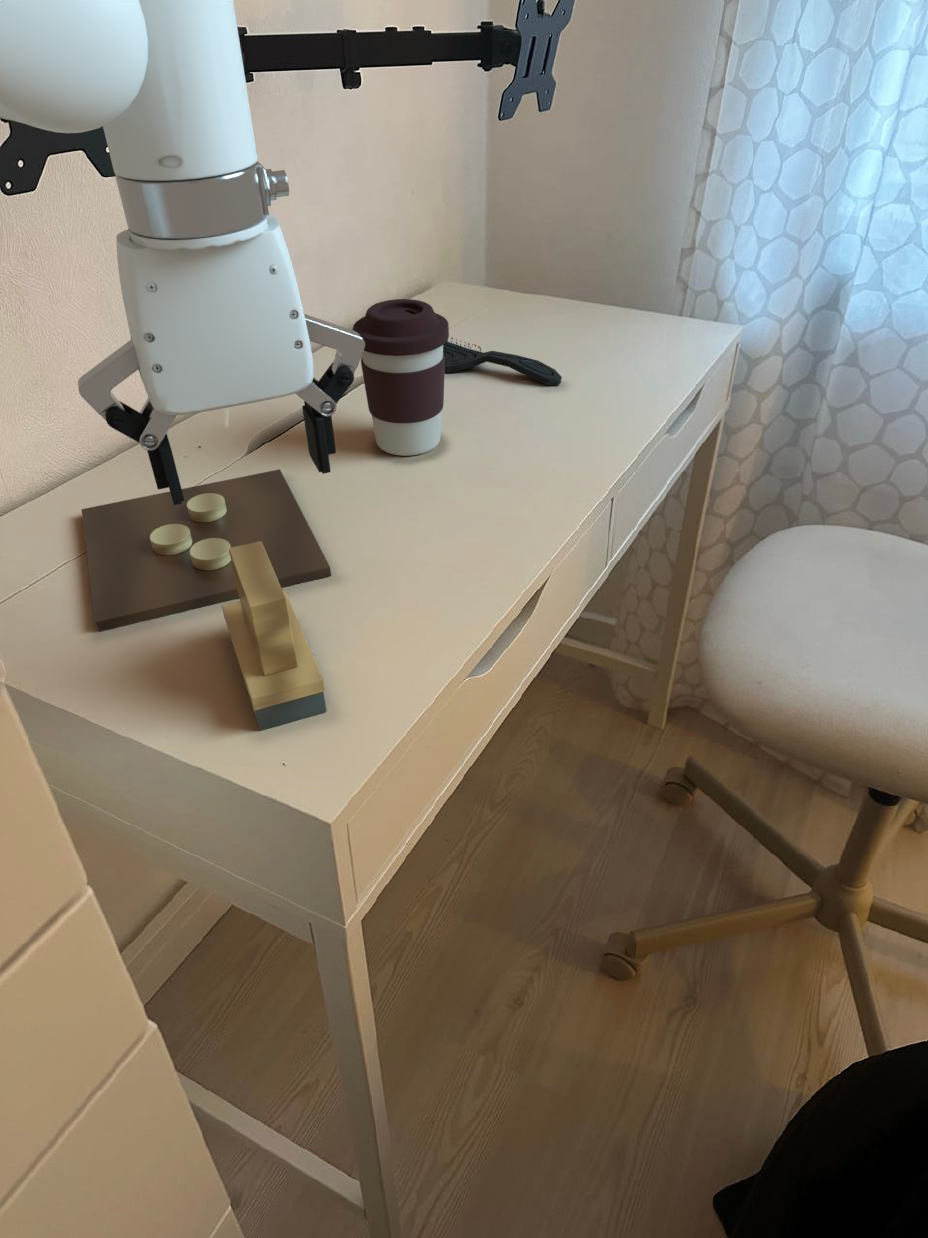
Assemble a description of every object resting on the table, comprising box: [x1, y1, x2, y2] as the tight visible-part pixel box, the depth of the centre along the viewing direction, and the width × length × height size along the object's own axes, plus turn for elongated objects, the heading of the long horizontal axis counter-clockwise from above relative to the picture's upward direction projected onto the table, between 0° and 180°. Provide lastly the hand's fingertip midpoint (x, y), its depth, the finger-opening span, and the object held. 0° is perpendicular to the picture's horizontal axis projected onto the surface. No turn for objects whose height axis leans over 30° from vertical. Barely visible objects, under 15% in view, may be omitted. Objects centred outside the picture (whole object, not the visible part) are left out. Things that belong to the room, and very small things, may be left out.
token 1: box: [150, 524, 192, 555], centre depth 82 cm, size 4×4×1 cm
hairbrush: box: [443, 337, 563, 387], centre depth 116 cm, size 8×4×25 cm
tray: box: [81, 468, 332, 632], centre depth 84 cm, size 20×20×1 cm
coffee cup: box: [352, 298, 450, 457], centre depth 96 cm, size 10×10×15 cm
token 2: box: [187, 493, 227, 522], centre depth 87 cm, size 4×4×1 cm
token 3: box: [189, 538, 231, 570], centre depth 80 cm, size 4×4×1 cm
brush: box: [221, 541, 327, 731], centre depth 67 cm, size 5×12×10 cm, turn 22°
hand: (249, 479), depth 59 cm, fingers open, 9 cm apart
